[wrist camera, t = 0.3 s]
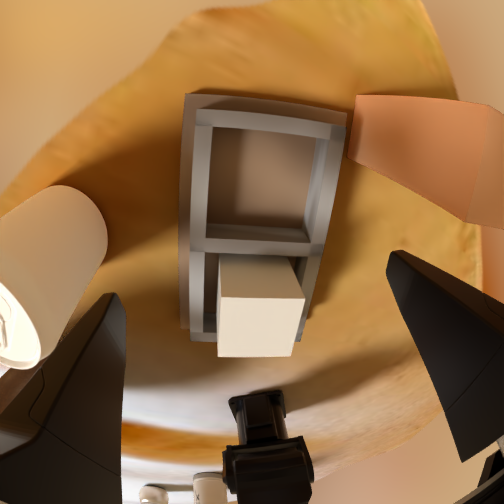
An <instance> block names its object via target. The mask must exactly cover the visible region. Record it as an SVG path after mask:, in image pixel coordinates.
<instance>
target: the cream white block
mask: <svg viewBox="0 0 504 504" xmlns="http://www.w3.org/2000/svg"><path fill="white" fill-rule="evenodd" d="M304 302H305V297H304V294H303V292H302V290H301V287H300V285H299V283H298V281H297V278H296V276H295V274H294V271H293V269H292V267H291V265H290V262H289V260H288V258H287V256H282V255H258V254H235V253H219V262H218V279H217V298H216V316H217V347H218V357H281V356H291V352H292V348H293V345H294V341H295V337H296V334H297V330H298V326H299V322H300V318H301V314H302V310H303V306H304Z"/></svg>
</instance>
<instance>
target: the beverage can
mask: <svg viewBox="0 0 504 504" xmlns="http://www.w3.org/2000/svg"><path fill="white" fill-rule="evenodd" d="M107 246H108V235H107V229H106V225H105V222H104V219H103V217H102V215H101V213H100V211H99V209H98V208H97V206H96V205H95V204H94V203H93V202H92V200H91V199H90V198H88V197H87V196H86V195H85V194H83V193H82V192H80V191H79V190H77V189H75V188H72V187H69V186H63V185H56V186H51V187H48V188H45V189H43V190H42V191H40V192H38V193H37V194H35V195H34V196H32V197H31V198H29V199H28V200H26V201H25V202H23V203H22V204H20V205H19V206H17V207H16V208H14V209H13V210H11V211H10V212H8V213H7V214H6V215H4V216H3V217H1V218H0V363H1V364H3V365H6V366H8V367H11V368H15V369H29V368H32V367H34V366H35V365H36V364H37V363H38V362H39V361H40V360H42V359H44V358H45V357H47V356H48V355H49V354H51V352H52V351H53V350H54V349H55V347H56V345H57V343H58V341H59V339H60V337H61V335H62V333H63V331H64V329H65V327H66V325H67V323H68V321H69V319H70V317H71V315H72V314H73V312H74V310H75V308H76V306H77V304H78V303H79V301H80V299H81V297H82V295H83V294H84V292H85V290H86V288H87V287H88V285H89V283H90V281H91V280H92V278H93V276H94V275H95V273H96V271H97V270H98V268H99V266H100V265H101V263H102V261H103V259H104V257H105V255H106V251H107Z"/></svg>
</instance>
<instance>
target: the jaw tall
mask: <svg viewBox="0 0 504 504" xmlns="http://www.w3.org/2000/svg"><path fill="white" fill-rule="evenodd" d="M347 158H349V159H351V160H353V161H355V162H357V163H359V164H362V165H364V166H366V167H368V168H370V169H372V170H374V171H376V172H378V173H380V174H382V175H384V176H386V177H388V178H390V179H391V180H393V181H395V182H397V183H399V184H401V185H403V186H405V187H406V188H408V189H410V190H412V191H414V192H415V193H417V194H419V195H421V196H423V197H424V198H426V199H428V200H429V201H431V202H433V203H435V204H436V205H438V206H440V207H441V208H443V209H444V210H446V211H448V212H449V213H451V214H453V215H454V216H456V217H457V218H459V219H460V220H462V221H464V222H466V223H472V224H477V225H483V226H488V227H493V228H499V229H503V230H504V114H502V113H501V112H499V111H497V110H496V109H494V108H493V107H491V106H489V105H483V104H478V103H471V102H464V101H457V100H448V99H439V98H428V97H414V96H394V95H356V102H355V109H354V116H353V123H352V129H351V135H350V142H349V148H348V154H347Z"/></svg>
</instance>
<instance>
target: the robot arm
mask: <svg viewBox="0 0 504 504" xmlns="http://www.w3.org/2000/svg"><path fill="white" fill-rule="evenodd" d="M386 276H387V279H388V282H389V284H390V287H391V289H392V292H393V294H394V297H395V299H396V302H397V305H398V307H399V310H400V312H401V314H402V316H403V319H404V321H405V323H406V325H407V327H408V329H409V331H410V333H411V335H412V337H413V339H414V342H415V344H416V346H417V348H418V350H419V352H420V355H421V357H422V359H423V361H424V364H425V366H426V368H427V371H428V373H429V375H430V378H431V380H432V382H433V385H434V387H435V390H436V392H437V395H438V397H439V400H440V402H441V405H442V407H443V410H444V412H445V416H446V418H447V421H448V424H449V427H450V430H451V433H452V435H453V438H454V441H455V444H456V447H457V450H458V454H459V457H460V460H461V462H462V463H463V462H465V461H466V460H468V459H470V458H471V457H473V456H474V455H476V454H477V453H479V452H480V451H482V450H483V449H485V448H486V447H488V446H489V445H490V444H492V443H493V442H495V441H496V442H497V444H498V446H499V448H500V449H498V450H497V451H496V452H494V453H493V454H492V455H490V456H489V457H487V459H486V461H485V465H484V468H483V471H482V475H481V478H480V481H479V483H478V486H477V487H478V488H477V489H475V490H474V491H472V492H471V493H469V494H468V495H466V496H465V497H463V498H462V499H460V500H458V501H457V502H455V503H454V504H504V304H503V303H501V302H499V301H497V300H496V299H494V298H492V297H490V296H489V295H487V294H485V293H482V292H481V291H480V290H478V289H476V288H474V287H473V286H471V285H469V284H467V283H465V282H463V281H462V280H460V279H458V278H456V277H454V276H452V275H451V274H449V273H447V272H445V271H443V270H441V269H439V268H437V267H435V266H433V265H431V264H430V263H428V262H426V261H424V260H422V259H420V258H418V257H416V256H414V255H412V254H410V253H408V252H406V251H404V250H396V251H392V252H391V253H390V256H389V260H388V264H387V268H386ZM125 363H126V313H125V310H124V308H123V305H122V303H121V301H120V299H119V297H118V295H117V294H116V293H114V292H112V293H105V294H103V295H102V296H101V297H100V298H99V299H98V300H97V302H96V303H95V304H94V305H93V306H92V307H91V308H90V309H89V310H88V311H87V313H86V314H85V315H84V316H83V317H82V318H81V319H80V320H79V322H78V323H77V324H76V325H75V326H74V327H73V328H72V329H71V331H70V332H69V333H68V334H67V335H66V336H65V338H64V339H63V340H62V341H61V342H60V343H59V345H58V346H57V347H56V348H55V349H54V351H53V352H52V353H51V354H50V355H49V357H48V358H47V359H46V360H45V361H44V363H43V364H42V367H40V368H39V369H38V370H37V371H36V373H35V374H34V375H33V376H32V378H31V379H30V380H29V381H28V382H27V384H26V385H25V386H24V387H23V388H22V389H21V391H20V392H19V393H18V394H17V395H16V396H15V397H14V398H13V400H12V401H11V402H10V403H9V404H8V405H7V406H6V407H5V409H4V410H3V411H2V412H1V413H0V504H122V485H121V423H122V402H123V387H124V375H125ZM228 403H229V406H230V409H231V411H232V413H233V416H234V418H235V420H236V423H237V428H238V437H239V445H233V446H231V445H226V448H227V450H225V451H223V452H222V454H223V475H222V480H223V483H224V484H226V485H227V486H228V489H230V492H231V494H237V501H238V504H308V502H309V500H310V498H311V495H312V489H311V484H310V483H313V482H314V470H313V465H312V461H311V458H310V455H309V452H308V450H307V447H306V444H305V441H304V439H303V436H298V437H295V438H289V439H288V434H287V430H286V425H285V421H284V418H286V412H285V405H284V399H283V393H282V391H280V390H278V391H273V392H268V393H262V394H257V395H251V396H245V397H239V398H232V399H229V400H228Z"/></svg>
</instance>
